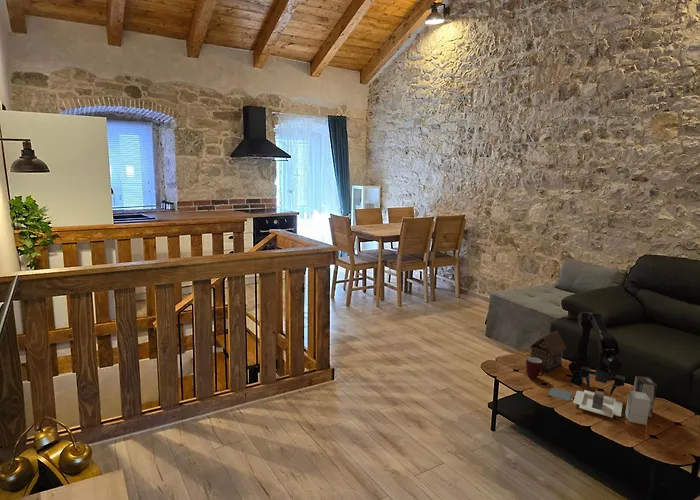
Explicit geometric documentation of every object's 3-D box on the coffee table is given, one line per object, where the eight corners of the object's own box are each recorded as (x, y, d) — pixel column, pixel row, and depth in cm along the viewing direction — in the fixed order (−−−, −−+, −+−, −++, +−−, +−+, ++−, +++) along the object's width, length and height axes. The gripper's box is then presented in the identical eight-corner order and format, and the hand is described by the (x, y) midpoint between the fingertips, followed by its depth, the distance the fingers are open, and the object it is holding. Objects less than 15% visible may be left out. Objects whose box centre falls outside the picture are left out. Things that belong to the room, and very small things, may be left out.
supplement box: (642, 417, 218) (646, 393, 216) (646, 426, 211) (651, 400, 209) (624, 414, 220) (628, 389, 218) (628, 422, 213) (632, 397, 211)
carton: (577, 392, 240) (577, 388, 239) (622, 404, 229) (622, 400, 229) (571, 409, 222) (572, 405, 222) (619, 424, 212) (620, 419, 211)
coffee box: (652, 417, 219) (658, 385, 216) (637, 415, 220) (642, 383, 217) (644, 407, 228) (649, 377, 225) (629, 405, 229) (635, 375, 226)
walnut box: (593, 401, 230) (595, 390, 229) (602, 404, 228) (604, 392, 227) (591, 408, 223) (593, 396, 222) (601, 411, 221) (603, 399, 220)
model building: (550, 374, 259) (554, 340, 255) (525, 365, 270) (529, 332, 266) (564, 366, 271) (569, 333, 267) (541, 357, 282) (545, 326, 278)
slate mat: (551, 388, 243) (551, 387, 243) (572, 394, 238) (572, 392, 238) (547, 395, 235) (548, 394, 235) (569, 402, 230) (569, 400, 229)
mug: (547, 380, 252) (549, 362, 250) (538, 383, 248) (541, 366, 246) (529, 372, 261) (532, 355, 259) (521, 375, 256) (523, 358, 254)
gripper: (580, 362, 220) (576, 393, 223) (626, 373, 210) (620, 405, 213) (583, 354, 229) (579, 384, 232) (627, 365, 219) (621, 395, 222)
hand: (599, 392), depth 224 cm, fingers open, 9 cm apart
